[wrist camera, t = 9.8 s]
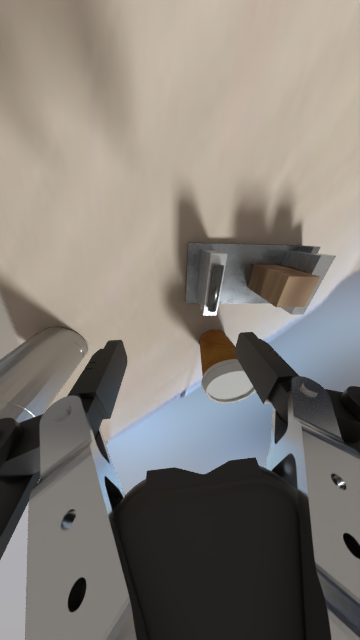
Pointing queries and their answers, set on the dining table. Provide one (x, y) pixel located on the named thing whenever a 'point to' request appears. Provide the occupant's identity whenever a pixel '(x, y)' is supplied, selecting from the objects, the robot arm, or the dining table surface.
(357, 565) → the robot arm
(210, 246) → the vise bed
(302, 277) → the walnut block
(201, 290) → the block
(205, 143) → the dining table surface
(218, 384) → the disposable coffee cup
